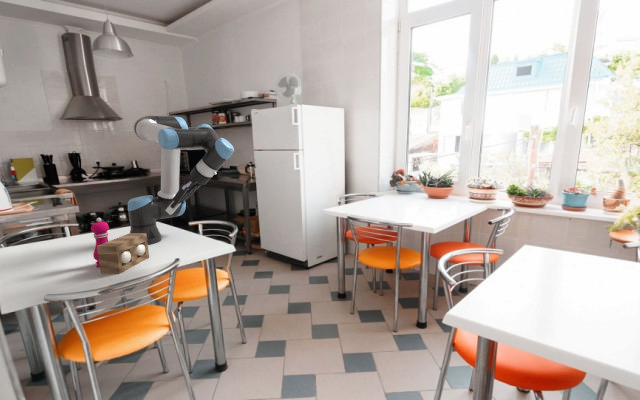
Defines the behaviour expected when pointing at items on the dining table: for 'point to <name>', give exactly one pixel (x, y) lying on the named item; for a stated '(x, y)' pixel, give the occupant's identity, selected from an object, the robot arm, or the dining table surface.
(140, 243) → the walnut block
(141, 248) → the inner knob
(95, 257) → the pepper mill
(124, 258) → the outer knob
